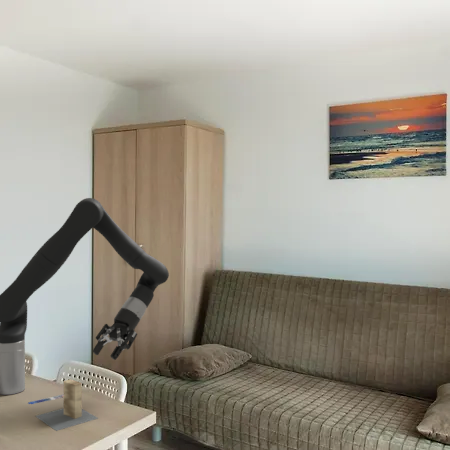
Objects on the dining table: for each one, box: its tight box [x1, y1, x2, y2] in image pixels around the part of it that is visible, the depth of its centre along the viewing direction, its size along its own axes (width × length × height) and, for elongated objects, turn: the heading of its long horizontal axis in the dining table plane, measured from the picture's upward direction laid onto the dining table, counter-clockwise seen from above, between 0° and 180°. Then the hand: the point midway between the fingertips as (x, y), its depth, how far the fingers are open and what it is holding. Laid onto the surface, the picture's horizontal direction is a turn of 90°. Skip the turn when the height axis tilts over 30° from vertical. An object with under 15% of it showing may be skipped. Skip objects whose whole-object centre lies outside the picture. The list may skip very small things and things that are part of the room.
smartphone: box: [27, 393, 64, 405], centre depth 167 cm, size 7×1×15 cm
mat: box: [35, 407, 99, 432], centre depth 154 cm, size 14×13×1 cm
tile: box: [63, 378, 83, 419], centre depth 155 cm, size 6×2×10 cm, turn 53°
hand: (103, 355), depth 164 cm, fingers open, 8 cm apart
